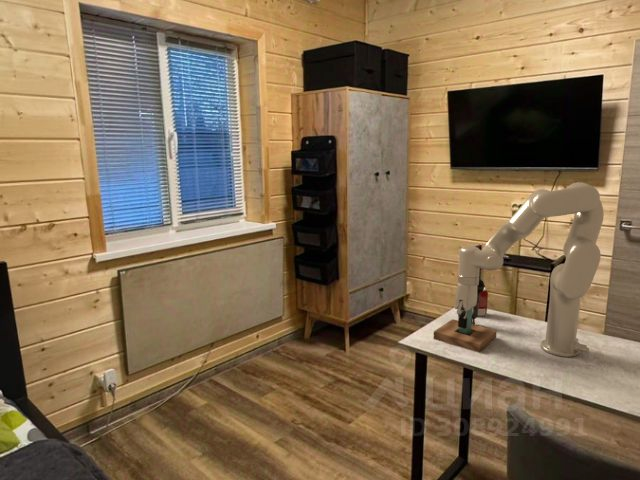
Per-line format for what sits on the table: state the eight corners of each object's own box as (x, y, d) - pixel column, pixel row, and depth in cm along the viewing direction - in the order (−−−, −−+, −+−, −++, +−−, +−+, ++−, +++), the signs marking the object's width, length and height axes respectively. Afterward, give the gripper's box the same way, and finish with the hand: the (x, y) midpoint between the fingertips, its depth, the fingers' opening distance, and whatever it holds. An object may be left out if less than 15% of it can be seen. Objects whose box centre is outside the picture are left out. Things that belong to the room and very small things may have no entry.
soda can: (487, 318, 194) (489, 291, 191) (471, 317, 195) (472, 290, 192) (485, 312, 200) (487, 286, 198) (469, 311, 201) (470, 285, 199)
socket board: (496, 338, 174) (496, 330, 173) (479, 352, 162) (479, 344, 162) (452, 326, 186) (452, 319, 185) (433, 338, 174) (433, 331, 173)
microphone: (463, 321, 191) (466, 275, 186) (480, 321, 190) (483, 275, 185) (466, 327, 184) (469, 280, 180) (483, 328, 183) (487, 280, 179)
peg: (472, 334, 174) (474, 304, 171) (467, 338, 171) (469, 307, 168) (461, 331, 177) (463, 302, 174) (456, 334, 173) (458, 305, 171)
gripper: (468, 272, 178) (465, 316, 181) (448, 282, 165) (445, 329, 169) (487, 276, 173) (483, 321, 177) (468, 287, 160) (465, 335, 164)
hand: (465, 325), depth 173 cm, fingers closed on peg, 4 cm apart
